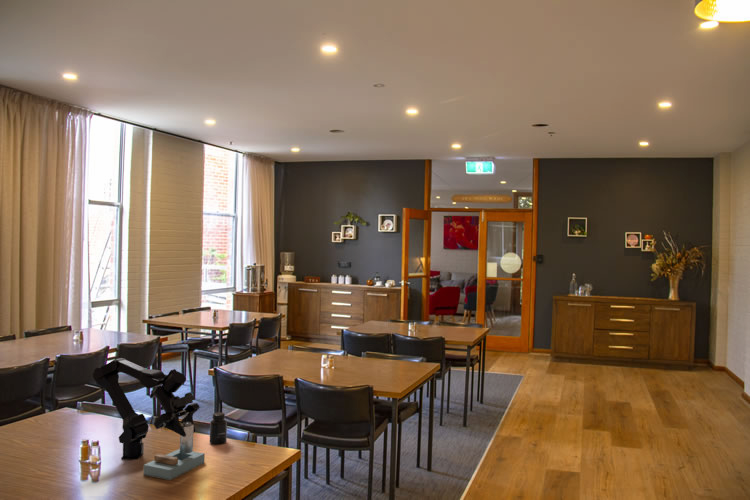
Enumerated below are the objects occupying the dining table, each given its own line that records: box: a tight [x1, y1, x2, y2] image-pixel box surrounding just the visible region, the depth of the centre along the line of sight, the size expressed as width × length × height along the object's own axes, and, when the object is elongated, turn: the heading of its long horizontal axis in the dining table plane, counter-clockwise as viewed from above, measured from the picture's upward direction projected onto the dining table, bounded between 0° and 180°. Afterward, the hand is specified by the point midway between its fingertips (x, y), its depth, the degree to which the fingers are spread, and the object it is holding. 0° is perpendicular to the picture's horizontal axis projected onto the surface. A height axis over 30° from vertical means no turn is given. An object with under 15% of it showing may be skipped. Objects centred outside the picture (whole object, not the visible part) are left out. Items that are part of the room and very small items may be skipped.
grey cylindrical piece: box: [179, 422, 195, 454], centre depth 208 cm, size 5×5×10 cm
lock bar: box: [153, 453, 178, 465], centre depth 202 cm, size 9×2×2 cm, turn 67°
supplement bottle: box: [209, 412, 228, 446], centre depth 235 cm, size 7×7×12 cm
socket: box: [143, 448, 205, 481], centre depth 207 cm, size 12×18×4 cm, turn 157°
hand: (189, 434), depth 208 cm, fingers closed on grey cylindrical piece, 5 cm apart
